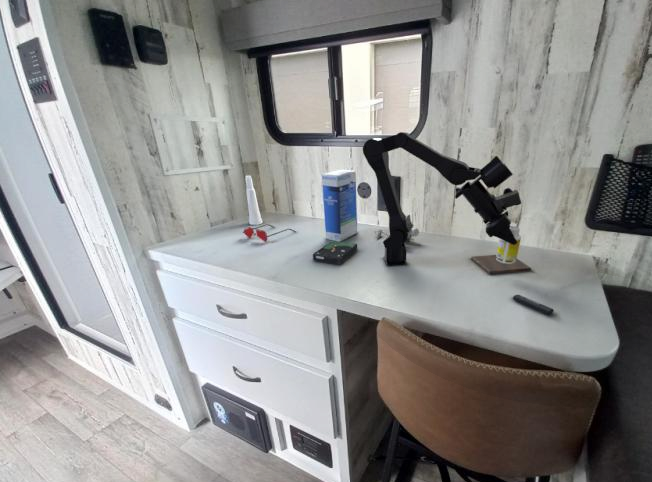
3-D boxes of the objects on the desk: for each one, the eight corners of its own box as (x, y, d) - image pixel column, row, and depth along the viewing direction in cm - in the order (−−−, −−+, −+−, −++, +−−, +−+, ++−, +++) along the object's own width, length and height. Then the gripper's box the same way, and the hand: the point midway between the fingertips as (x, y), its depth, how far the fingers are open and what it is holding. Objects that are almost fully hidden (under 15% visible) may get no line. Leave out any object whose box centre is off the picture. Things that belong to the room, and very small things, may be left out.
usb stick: (554, 313, 74) (555, 308, 73) (548, 317, 73) (550, 311, 72) (517, 297, 81) (518, 292, 80) (511, 300, 80) (512, 295, 79)
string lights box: (343, 230, 135) (341, 169, 124) (358, 233, 132) (356, 170, 121) (325, 239, 125) (320, 173, 114) (340, 242, 121) (337, 174, 110)
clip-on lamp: (370, 247, 123) (409, 247, 112) (366, 233, 121) (405, 231, 110) (385, 237, 132) (423, 235, 121) (381, 223, 129) (420, 220, 118)
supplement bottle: (518, 260, 92) (525, 227, 87) (512, 266, 88) (519, 232, 84) (499, 255, 95) (505, 223, 91) (492, 261, 91) (498, 228, 87)
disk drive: (340, 266, 101) (357, 250, 113) (339, 258, 100) (357, 243, 112) (312, 261, 104) (332, 246, 117) (311, 254, 103) (332, 239, 116)
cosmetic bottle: (252, 221, 150) (244, 174, 140) (264, 221, 149) (257, 174, 140) (247, 224, 144) (238, 176, 135) (259, 225, 144) (251, 176, 134)
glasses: (243, 238, 127) (241, 226, 125) (273, 227, 140) (272, 216, 138) (266, 243, 120) (264, 231, 118) (296, 232, 133) (294, 221, 131)
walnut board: (489, 274, 94) (489, 271, 93) (470, 259, 104) (471, 256, 104) (530, 270, 96) (531, 267, 95) (508, 256, 106) (509, 253, 106)
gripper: (508, 185, 75) (547, 233, 76) (503, 175, 91) (536, 214, 92) (470, 214, 80) (507, 258, 82) (472, 199, 96) (503, 236, 98)
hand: (514, 240), depth 88 cm, fingers closed on supplement bottle, 5 cm apart
